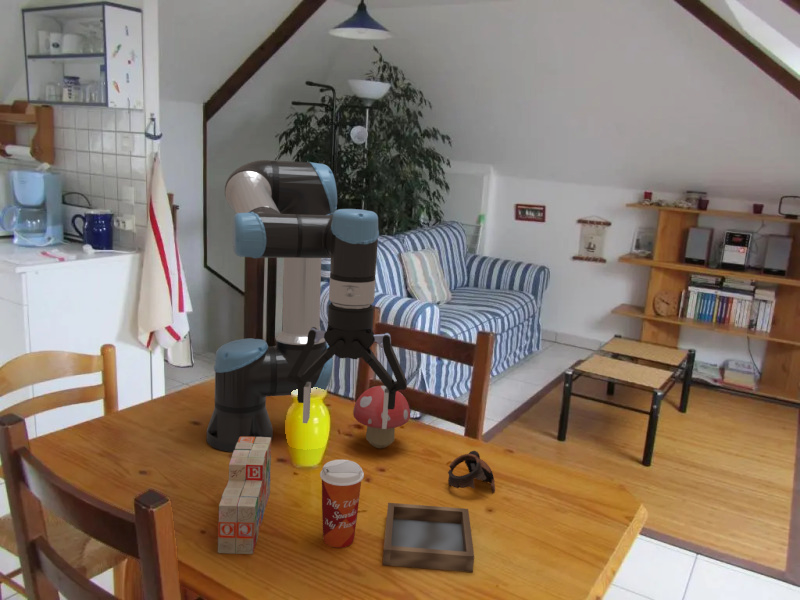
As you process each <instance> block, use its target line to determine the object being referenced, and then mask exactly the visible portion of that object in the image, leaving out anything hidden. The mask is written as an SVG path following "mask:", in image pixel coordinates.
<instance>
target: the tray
mask: <svg viewBox="0 0 800 600" xmlns="http://www.w3.org/2000/svg"><path fill="white" fill-rule="evenodd" d="M386 510H387V511H386V520H385V521H386V522H385V532H384V540H383V541H384V542H383V543H384V544H383V554H382V566H392V567H402V568H403V567H404V568H405V567H406V568H417V569H426V570H427V569H431V570H439V571H441V570H443V571H453V572H455V571H456V572H467V573H473V571H474V563H475V552H474V543H473V537H472V529H471V519H470V512H469V508H461V507H447V506H438V505H437V506H436V505H421V504H410V503H409V504H408V503H396V502H387V509H386Z"/></svg>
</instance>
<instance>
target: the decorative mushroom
mask: <svg viewBox="0 0 800 600" xmlns="http://www.w3.org/2000/svg"><path fill="white" fill-rule="evenodd" d="M385 387H386V386H385V385H376V386H372V387H370V388H367V389H366V390H365V391H363V393H361V394H360V396H358V398H357V399H356V402H355V403H354V407H353V412H352V415H353V418H355V420H356V421H357V422H358V423H360V424H361V425H363V426H366V434H365V440H366V441H368V443H369V444H370V445H372V447H374V448H377V449H384V448H387V447H388V446H390V445H391V444H393V443H394V442H395V428H399V427H402V426H403V425H405V424H407V423H408V422H409V421H410V418H411V411H410V410H411V409H410V405H409V402H408V401H407V398H406V397H405V396H404V395H403V394H402V393H401V392H400V390H398V391H397V392H396V396H395V407H394V409H388V417H387V428H386V429H382V420H383V404H384V391H385Z"/></svg>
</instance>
